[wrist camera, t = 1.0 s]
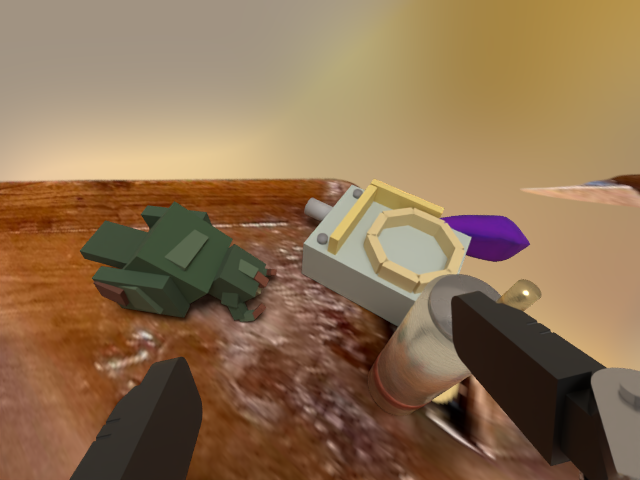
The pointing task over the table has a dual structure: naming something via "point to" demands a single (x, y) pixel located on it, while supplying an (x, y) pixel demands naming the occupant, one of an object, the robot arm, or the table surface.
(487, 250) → the crystal
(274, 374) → the table surface
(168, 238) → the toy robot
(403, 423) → the table surface
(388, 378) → the spout can
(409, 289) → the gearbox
